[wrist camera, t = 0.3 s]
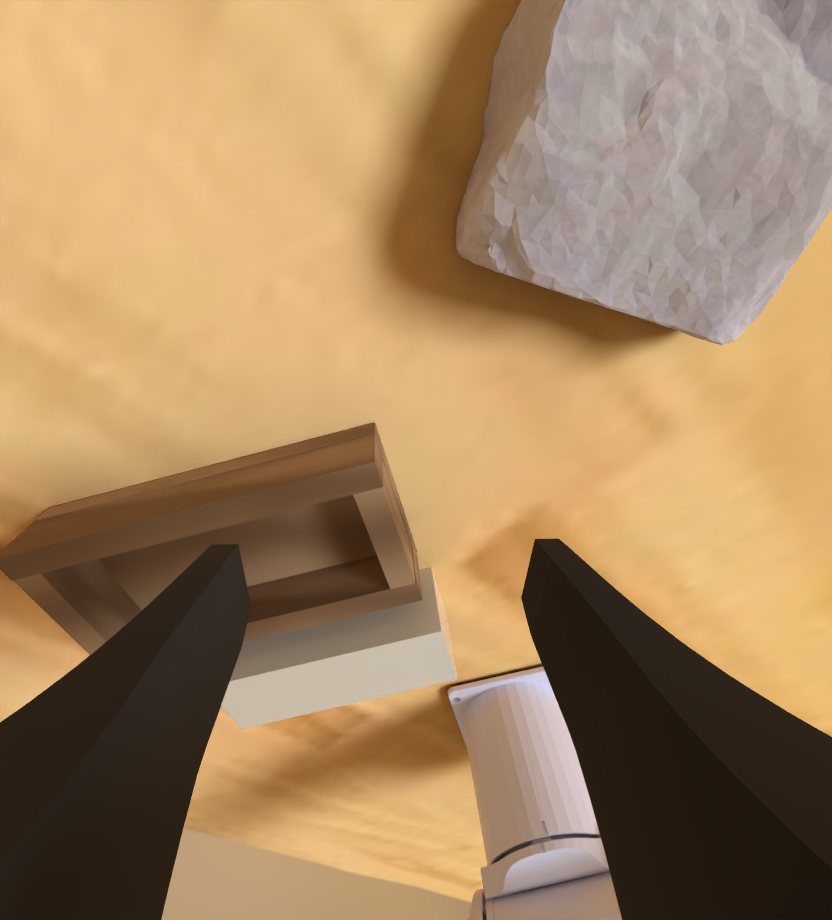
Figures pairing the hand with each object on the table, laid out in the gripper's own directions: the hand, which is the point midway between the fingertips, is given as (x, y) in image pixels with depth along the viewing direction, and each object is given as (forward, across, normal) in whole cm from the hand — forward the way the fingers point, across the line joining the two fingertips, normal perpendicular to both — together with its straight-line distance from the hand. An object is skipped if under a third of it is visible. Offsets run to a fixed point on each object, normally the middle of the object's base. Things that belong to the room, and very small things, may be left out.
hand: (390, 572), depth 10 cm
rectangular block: (+10, +2, +13) cm, 17 cm away
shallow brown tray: (+10, +7, +6) cm, 14 cm away
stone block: (+10, -9, -10) cm, 17 cm away
